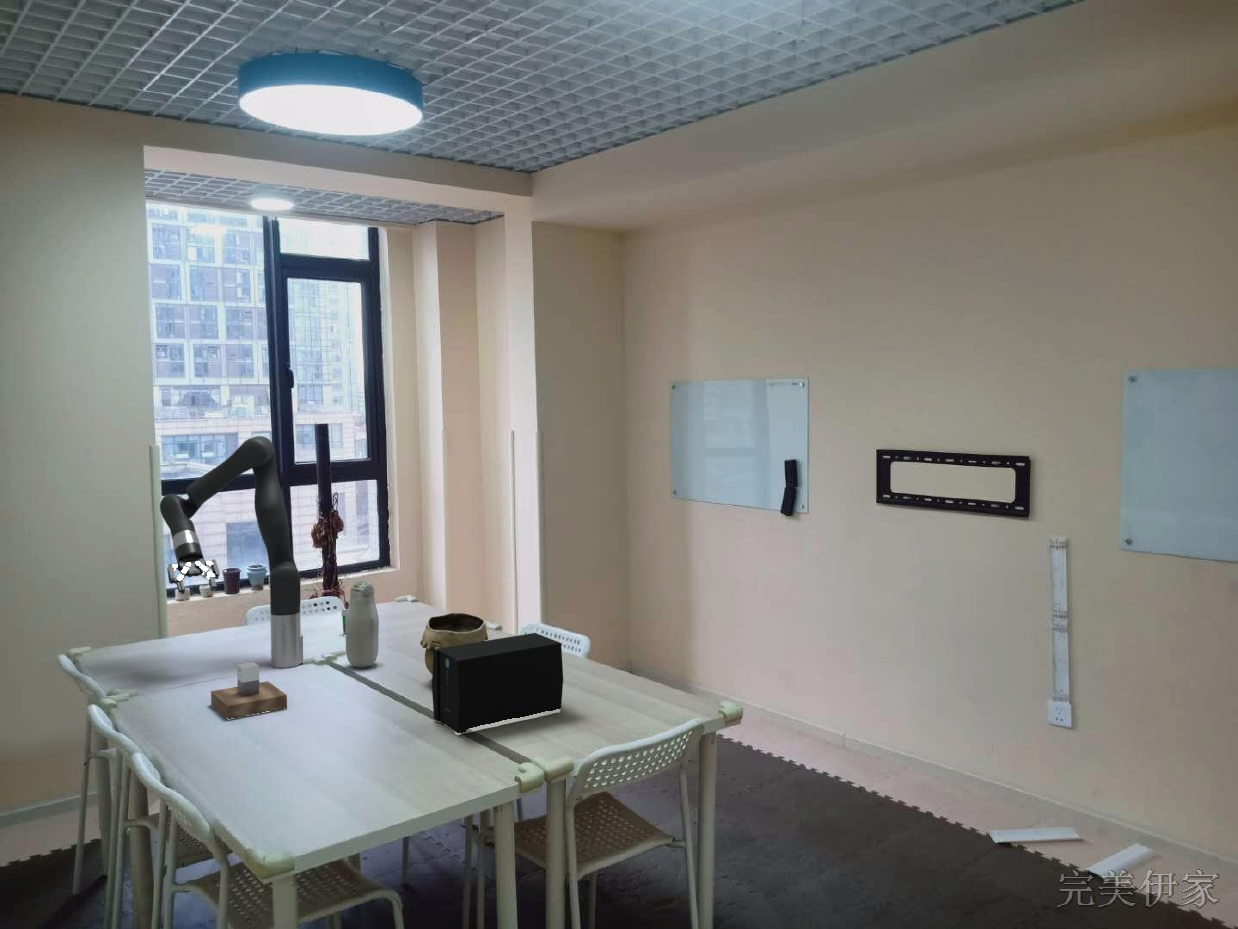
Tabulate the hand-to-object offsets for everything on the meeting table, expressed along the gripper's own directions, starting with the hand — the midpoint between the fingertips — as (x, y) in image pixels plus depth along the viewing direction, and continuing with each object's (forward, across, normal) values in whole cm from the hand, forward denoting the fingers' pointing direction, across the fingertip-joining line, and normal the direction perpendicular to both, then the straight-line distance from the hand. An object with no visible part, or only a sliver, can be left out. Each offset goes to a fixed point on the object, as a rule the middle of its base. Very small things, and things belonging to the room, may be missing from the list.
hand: (198, 591), depth 288 cm
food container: (-1, +63, +42) cm, 76 cm away
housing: (+39, +5, -4) cm, 40 cm away
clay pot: (+52, +63, -11) cm, 82 cm away
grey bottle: (+29, +47, +12) cm, 56 cm away
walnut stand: (+42, +5, -1) cm, 42 cm away
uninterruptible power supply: (+77, +58, -36) cm, 103 cm away
